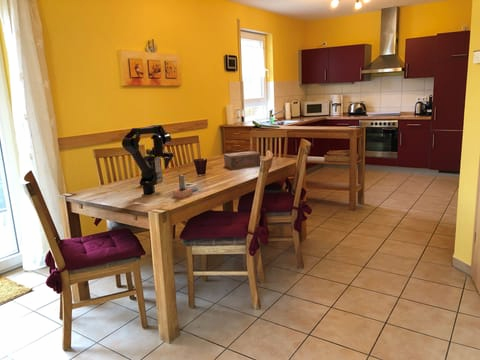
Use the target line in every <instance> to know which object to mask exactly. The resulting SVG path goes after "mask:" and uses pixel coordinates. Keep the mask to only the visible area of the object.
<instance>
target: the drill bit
mask: <svg viewBox="0 0 480 360" xmlns="http://www.w3.org/2000/svg"><path fill="white" fill-rule="evenodd" d="M178 183H179V185H178V187H179V186H180V191H184V190H185V184H186V183H185V175H184V174H179V175H178Z"/></svg>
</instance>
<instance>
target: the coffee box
mask: <svg viewBox="0 0 480 360" xmlns="http://www.w3.org/2000/svg"><path fill="white" fill-rule="evenodd" d="M154 161H155V172H156V174H157V183H156V184H159V183H163V182H164V177H163V170H162V169H163V168H162V158H158V159H155V160H154ZM146 163H147V165H148V167H149V168H151V166H150V164H149V163H148V162H146Z"/></svg>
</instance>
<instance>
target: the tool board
mask: <svg viewBox="0 0 480 360" xmlns="http://www.w3.org/2000/svg"><path fill="white" fill-rule="evenodd" d="M205 191H207V189H205V188H204V189H203V188H202V189H200V188H198V190H195V191H193V194H192V195H190V196H187V197H185V198H182V197H173V192H172V193H169V194H166V195H163V196H162V197H163V198H173V199H181V200H186V199H188V198H191V197H194V196H195V195H198V194H201V193H203V192H205Z"/></svg>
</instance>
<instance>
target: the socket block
mask: <svg viewBox="0 0 480 360" xmlns="http://www.w3.org/2000/svg"><path fill="white" fill-rule="evenodd" d="M178 188H180V186H179V185H178ZM185 188H192V192H193V191H195V190H198V189H199V185H198V183H191V182H186V183H185Z"/></svg>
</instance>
